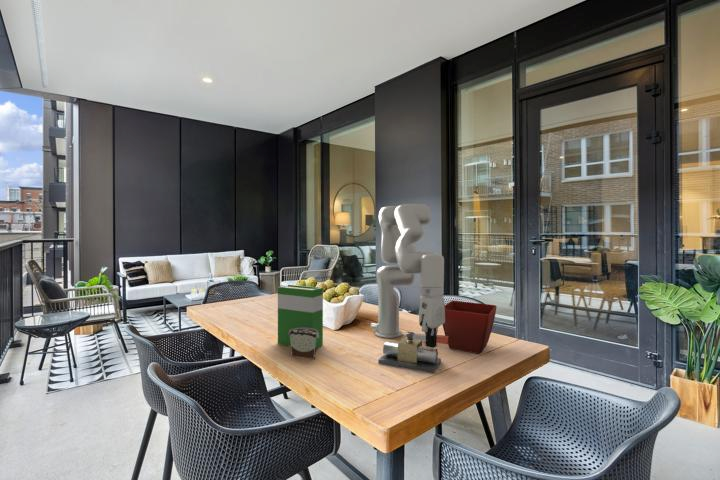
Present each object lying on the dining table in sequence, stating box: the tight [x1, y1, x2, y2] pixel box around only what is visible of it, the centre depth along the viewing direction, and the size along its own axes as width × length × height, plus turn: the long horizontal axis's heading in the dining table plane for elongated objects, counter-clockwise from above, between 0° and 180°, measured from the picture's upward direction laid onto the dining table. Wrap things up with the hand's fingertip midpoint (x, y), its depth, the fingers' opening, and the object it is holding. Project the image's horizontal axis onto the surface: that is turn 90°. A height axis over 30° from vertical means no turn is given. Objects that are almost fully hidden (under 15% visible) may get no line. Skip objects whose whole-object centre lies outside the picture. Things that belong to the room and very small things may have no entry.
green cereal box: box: [277, 284, 324, 349], centre depth 151 cm, size 18×7×24 cm, turn 63°
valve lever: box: [405, 331, 449, 345], centre depth 128 cm, size 15×3×2 cm, turn 68°
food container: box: [288, 327, 319, 360], centre depth 137 cm, size 12×6×10 cm, turn 71°
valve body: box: [378, 336, 442, 374], centre depth 130 cm, size 20×11×9 cm, turn 64°
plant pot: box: [441, 300, 497, 354], centre depth 148 cm, size 19×19×17 cm
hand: (431, 346), depth 119 cm, fingers closed
